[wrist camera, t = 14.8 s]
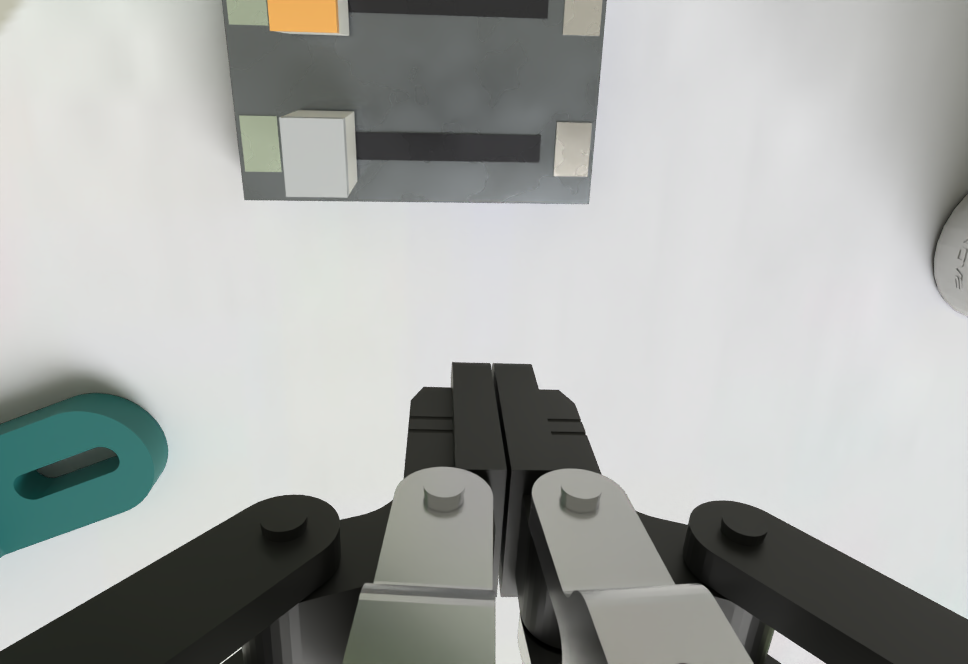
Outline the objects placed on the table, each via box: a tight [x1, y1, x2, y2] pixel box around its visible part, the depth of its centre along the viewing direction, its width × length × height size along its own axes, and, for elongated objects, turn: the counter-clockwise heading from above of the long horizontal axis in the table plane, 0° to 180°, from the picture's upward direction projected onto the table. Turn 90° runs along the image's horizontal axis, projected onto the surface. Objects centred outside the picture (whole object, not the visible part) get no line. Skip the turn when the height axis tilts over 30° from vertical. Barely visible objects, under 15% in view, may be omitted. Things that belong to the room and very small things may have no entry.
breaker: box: [279, 110, 357, 198], centre depth 27 cm, size 2×3×4 cm
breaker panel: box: [222, 0, 607, 204], centre depth 30 cm, size 16×11×3 cm
